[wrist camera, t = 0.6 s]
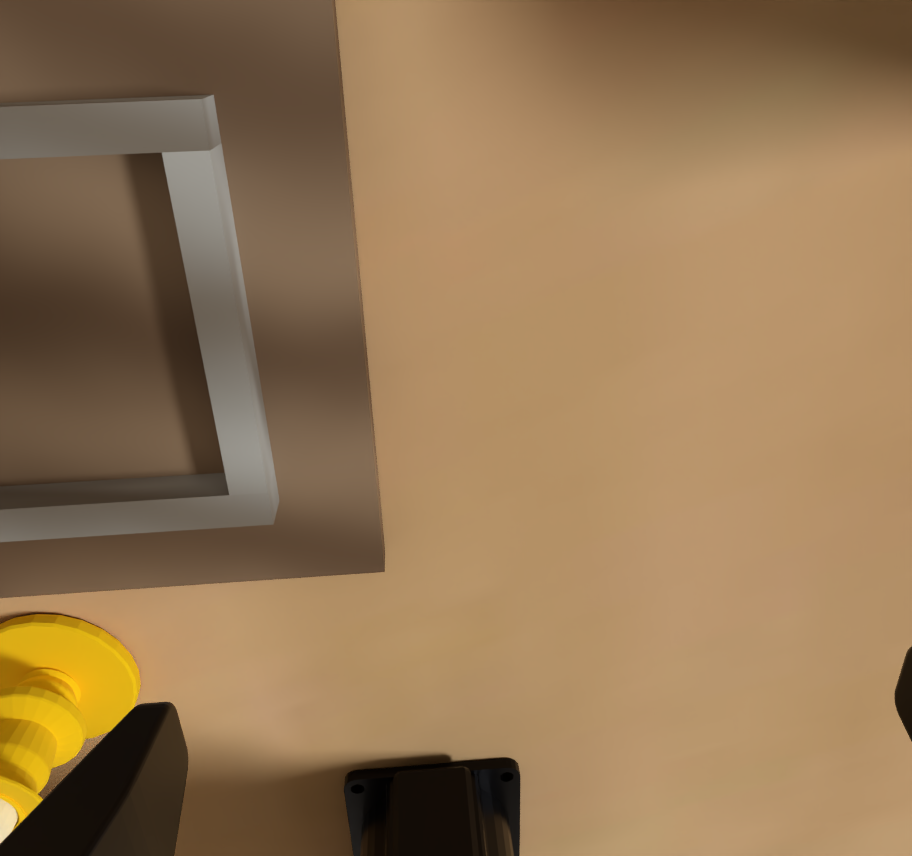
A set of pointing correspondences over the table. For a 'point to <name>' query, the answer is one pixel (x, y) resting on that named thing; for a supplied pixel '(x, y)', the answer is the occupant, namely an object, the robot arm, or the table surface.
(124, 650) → the candle
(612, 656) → the table surface
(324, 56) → the socket board
